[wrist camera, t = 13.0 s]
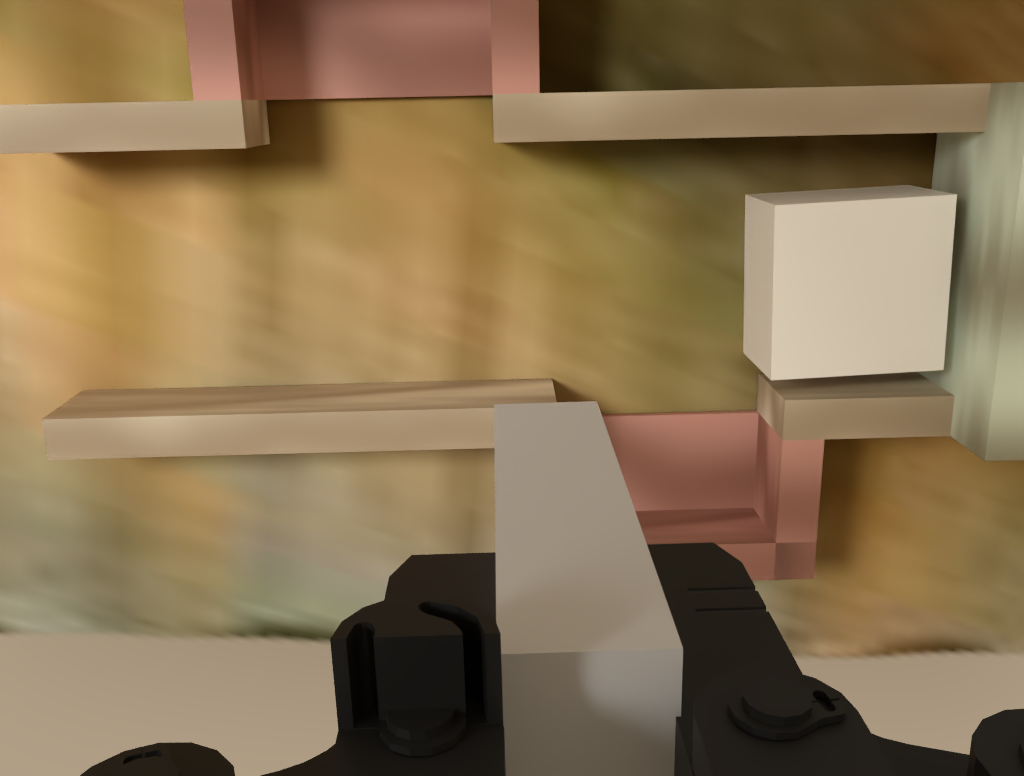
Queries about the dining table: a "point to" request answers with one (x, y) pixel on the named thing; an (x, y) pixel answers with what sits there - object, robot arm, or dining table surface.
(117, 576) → the dining table surface
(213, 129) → the trap lane box
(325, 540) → the dining table surface
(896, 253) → the cream block
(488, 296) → the dining table surface
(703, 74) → the dining table surface
